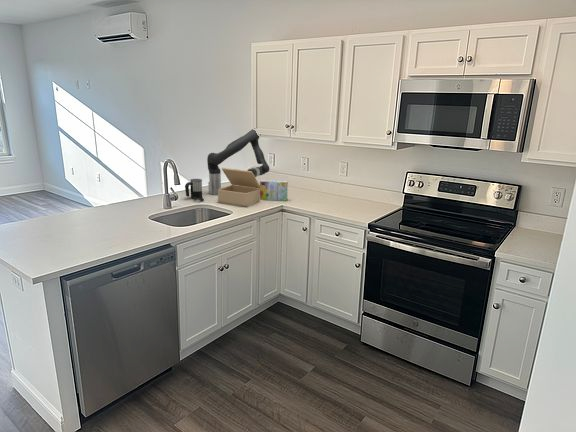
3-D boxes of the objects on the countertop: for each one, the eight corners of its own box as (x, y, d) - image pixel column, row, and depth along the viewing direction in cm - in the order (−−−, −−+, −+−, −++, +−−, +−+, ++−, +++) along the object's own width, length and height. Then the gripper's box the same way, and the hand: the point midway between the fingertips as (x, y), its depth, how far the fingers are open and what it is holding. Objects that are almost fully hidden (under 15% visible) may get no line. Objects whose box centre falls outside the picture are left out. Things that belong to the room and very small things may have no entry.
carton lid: (221, 168, 292) (222, 167, 293) (231, 184, 308) (232, 183, 308) (251, 172, 282) (252, 171, 282) (260, 188, 297) (260, 187, 298)
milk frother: (196, 196, 312) (195, 177, 307) (211, 199, 304) (211, 180, 300) (183, 199, 300) (182, 180, 295) (199, 202, 292) (198, 183, 288)
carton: (218, 202, 294) (217, 189, 291) (232, 197, 310) (232, 185, 308) (246, 207, 284) (246, 193, 281) (259, 201, 300) (259, 188, 297)
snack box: (287, 199, 309) (287, 180, 304) (286, 201, 303) (287, 182, 299) (261, 198, 311) (261, 179, 306) (259, 199, 305) (259, 181, 301)
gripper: (246, 167, 312) (234, 171, 297) (260, 169, 306) (249, 172, 291) (246, 176, 314) (234, 180, 299) (260, 178, 309) (249, 182, 294)
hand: (241, 176), depth 295 cm, fingers closed
